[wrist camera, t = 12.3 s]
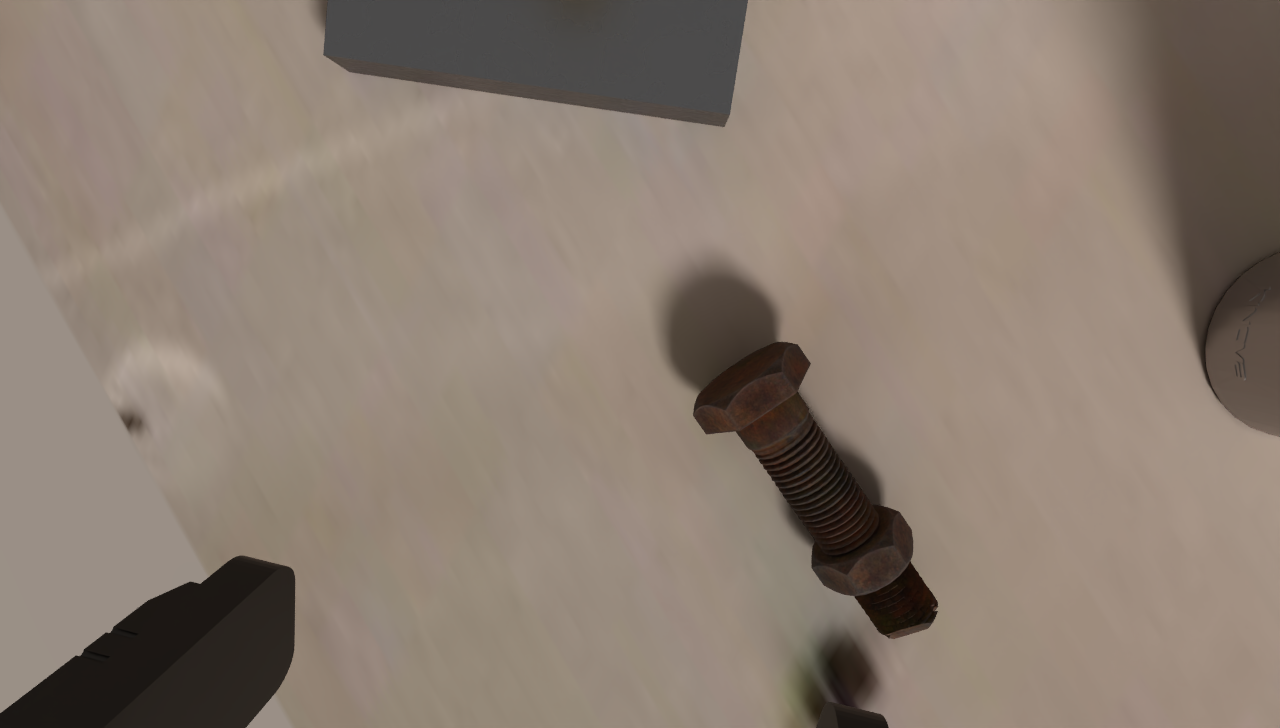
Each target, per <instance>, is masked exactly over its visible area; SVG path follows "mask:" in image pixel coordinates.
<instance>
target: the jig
mask: <svg viewBox="0 0 1280 728" xmlns="http://www.w3.org/2000/svg"><path fill="white" fill-rule="evenodd" d="M747 3H748V0H328V4H327V16H326V29H325V42H324V56H326V57H327V58H329V59H330V60H332V61H334V62H335V63H337V64H338V65H340V66H341V67H343V68H344V69H346V70H347V71H349V72H353V73H360V74H367V75H374V76H381V77H388V78H394V79H401V80H408V81H415V82H422V83H428V84H435V85H442V86H449V87H456V88H463V89H469V90H476V91H483V92H490V93H497V94H503V95H510V96H517V97H524V98H531V99H537V100H544V101H551V102H558V103H565V104H572V105H578V106H585V107H592V108H599V109H606V110H612V111H619V112H626V113H633V114H640V115H647V116H653V117H660V118H667V119H674V120H681V121H687V122H694V123H701V124H708V125H715V126H721V127H724V126H725V124H726V122H727V120H728V117H729V115H730V110H731V103H732V97H733V91H734V84H735V78H736V72H737V66H738V59H739V53H740V47H741V40H742V34H743V28H744V22H745V15H746V9H747Z"/></svg>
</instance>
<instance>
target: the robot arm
mask: <svg viewBox="0 0 1280 728" xmlns="http://www.w3.org/2000/svg"><path fill="white" fill-rule="evenodd" d="M1205 352H1206V368H1207V372H1208V375H1209V378H1210V382H1211V385H1212V388H1213V389H1214V391H1215V393H1216V394H1217V396H1218V398H1219V400H1220V401H1221V403H1222V404H1223V405H1224V406H1225V407H1226V408H1227V409H1228V410H1229V411H1230V413H1231V414H1232V415H1233V416H1234V417H1236V418H1237V419H1239V420H1240V421H1242V422H1243V423H1245V424H1246V425H1248V426H1250V427H1251V428H1254V429H1257V430H1260V431H1262V432H1265V433H1268V434H1271V435H1275V436H1279V437H1280V252H1279V253H1277V254H1275V255H1273V256H1271V257H1269V258H1266V259H1264V260H1262V261H1260V262H1259V263H1257V264H1256V265H1255V266H1253V267H1252V268H1251V269H1249V270H1248V271H1246V272H1245V273H1244V274H1242V275H1241V276H1240V278H1239V279H1238V280H1237V281H1236V282H1235V283H1234V284H1233V285H1232V286H1231V287H1230V288H1229V289H1228V290H1227V292H1226V293H1225V295H1224V297H1223V298H1222V300H1221V301H1220V303H1219V305H1218V306H1217V308H1216V310H1215V312H1214V315H1213V318H1212V320H1211V323H1210V326H1209V328H1208V334H1207V341H1206V347H1205ZM294 635H295V575H294V572H293V570H292V569H291V568H290V567H287V566H283V565H279V564H275V563H271V562H267V561H263V560H259V559H255V558H251V557H247V556H237V557H235V558H233V559H231V560H230V561H228V562H227V563H226V564H224V565H223V566H222V567H221V568H220V569H218V570H217V571H216V572H215V573H213V574H212V575H211V576H210V577H208V578H207V579H206V580H205V581H203V582H202V583H201V584H198V583H194V582H189V583H186V584H184V585H182V586H179V587H177V588H175V589H173V590H170V591H169V592H166V593H164V594H162V595H159V596H157V597H155V598H153V599H150V600H148V601H147V602H145V603H144V604H143V605H142V606H140V607H139V608H138V609H136V610H135V611H134V612H132V613H131V614H130V615H128V616H127V617H126V618H125V619H123V620H122V621H121V622H119V623H118V624H117V625H116V626H114V627H113V630H112V631H111V633H105V634H104V635H102V636H101V637H100V638H98V639H97V640H96V641H95V642H93V643H92V644H91V645H89V646H88V647H87V648H85V649H84V652H83V653H82V655H81V656H75V657H73V658H72V659H71V660H70V661H68V662H67V663H66V664H64V665H63V666H62V667H60V668H59V669H58V670H57V671H55V672H54V673H53V674H51V675H50V676H49V677H47V679H45V680H43V681H42V682H41V683H40V684H38V685H37V686H36V687H34V688H33V689H32V690H31V691H29V692H28V693H26V694H25V695H24V696H22V697H21V698H20V699H19V700H17V701H16V702H15V703H13V704H12V705H11V706H9V707H8V708H7V709H5V710H4V711H3V712H2V713H0V728H246V727H247V726H248V724H249V723H250V722H251V721H252V720H253V719H254V717H255V716H256V715H257V714H258V713H259V711H260V710H261V709H262V708H263V707H264V706H265V704H266V703H267V702H268V701H269V700H270V699H271V697H272V696H273V695H274V694H275V692H276V691H277V690H278V688H279V687H280V685H281V684H282V682H283V680H284V678H285V676H286V674H287V672H288V670H289V667H290V664H291V661H292V658H293V653H294ZM816 728H888V724H887V722H886V719H885V718H884V716H883V715H881V714H877V713H873V712H869V711H865V710H861V709H857V708H853V707H849V706H845V705H841V704H837V703H833V702H828V703H826V705H825V706H824V708H823V710H822V713H821V716H820V718H819V721H818V724H817V727H816Z"/></svg>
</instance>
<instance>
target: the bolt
mask: <svg viewBox="0 0 1280 728" xmlns="http://www.w3.org/2000/svg"><path fill="white" fill-rule="evenodd" d="M810 364H811V363H810V362H809V360H808V359H807V358H806V356H805V355H804V353H803V352H802V350H801V349H800V347H799V346H798V344H793V343H788V342H776V343H773V344H771V345H769V346H767V347H764V348H762V349H760V350H758V351H756V352H754V353H752V354H750V355H748V356H747V357H745V358H744V359H742V360H741V361H739V362H738V363H736V364H735V365H733V366H731V367H730V368H728V369H727V370H726V371H724V372H723V373H722V374H721V375H719V376H718V377H717V378H716V379H714V380H713V381H712V382H711V383H710V384H709V385H708V386H707V387H706V388H705V389H704V390H702V391H701V392H700V393H699V395H698V397H697V399H696V402H695V405H694V412H693V416H694V417H695V419H696V420H697V422H698V423H699V425H700V426H701V427H702V429H703V430H704V432H705V433H706V434H714V433H723V432H733V431H736V432H737V434H738V435H739V437H740V438H741V439H742V441H743V442H744V444H745V445H746V446H747V448H748V449H750V450H752V451H753V452H754V453H755V455H756V457H757V458H758V459H759V461H760V463H761V464H763V467H764V469H765V470H767V473H768V474H769V475H770V476H771V478H772V480H773V481H774V482H775V484H776V486H777V487H778V488H779V490H780V492H781V493H782V494H783V496H784V497H785V499H787V502H788V503H789V504H790V505H791V507H792V509H794V511H795V513H796V514H797V515H798V517H799V519H800V520H802V522H803V524H804V525H805V526H806V528H807V530H808V531H810V533H811V535H812V536H813V537H814V540H815V542H814V545H813V549H812V569H813V571H814V572H815V573H816V575H817V576H818V578H819V579H820V581H821V582H822V583H823V585H824V586H826V587H828V588H830V589H832V590H834V591H836V592H838V593H841V594H844V595H850V596H855V599H856V600H857V601H858V603H859V604H860V605H861V607H862V608H863V609H864V611H865V613H866V614H867V615H868V616H869V617H870V620H871V621H872V623H874V625H875V627H876V628H877V630H878V631H879V632H880V633H881V634H883V635H885V636H887V637H888V638H892V639H895V638H899V637H902V636H906V635H909V634H912V633H916V632H919V631H922V630H925V629H928V628H929V627H930V626H931V624H932V623H933V621H934V619H935V617H936V615H937V612H938V611H935V610H936V609H937V607H938V602H937V600H936V598H935V597H934V595H933V594H932V592H931V591H930V590H929V588H928V587H927V586H926V584H925V583H924V581H923V580H922V578H921V577H920V576H919V573H918V572H917V571H916V570H915V568H914V566H913V565H912V564H911V561H910V560H911V558H912V554H913V537H912V530H911V528H910V527H909V525H908V524H907V522H906V521H905V519H904V518H903V516H902V515H901V513H900V512H898V511H896V510H893V509H890V508H888V507H884V506H879V505H871V503H870V501H869V500H868V499H867V497H866V495H865V494H864V493H863V491H862V490H861V488H859V485H858V484H857V483H856V482H855V479H854V478H853V477H852V475H851V473H850V472H848V469H847V467H846V466H844V463H843V462H842V460H840V459H839V457H838V455H837V454H836V452H835V451H834V449H833V448H832V446H831V444H830V443H829V442H828V440H827V438H826V437H825V436H824V434H823V432H822V431H821V429H820V427H818V426H817V423H816V422H815V421H814V420H813V418H812V416H811V415H810V413H809V408H808V407H807V405H806V404H805V402H804V401H803V399H802V398H801V396H800V395H799V393H798V392H797V391H798V389H799V387H800V385H801V383H802V381H803V379H804V376H805V374H806V372H807V370H808V368H809V366H810Z"/></svg>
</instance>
